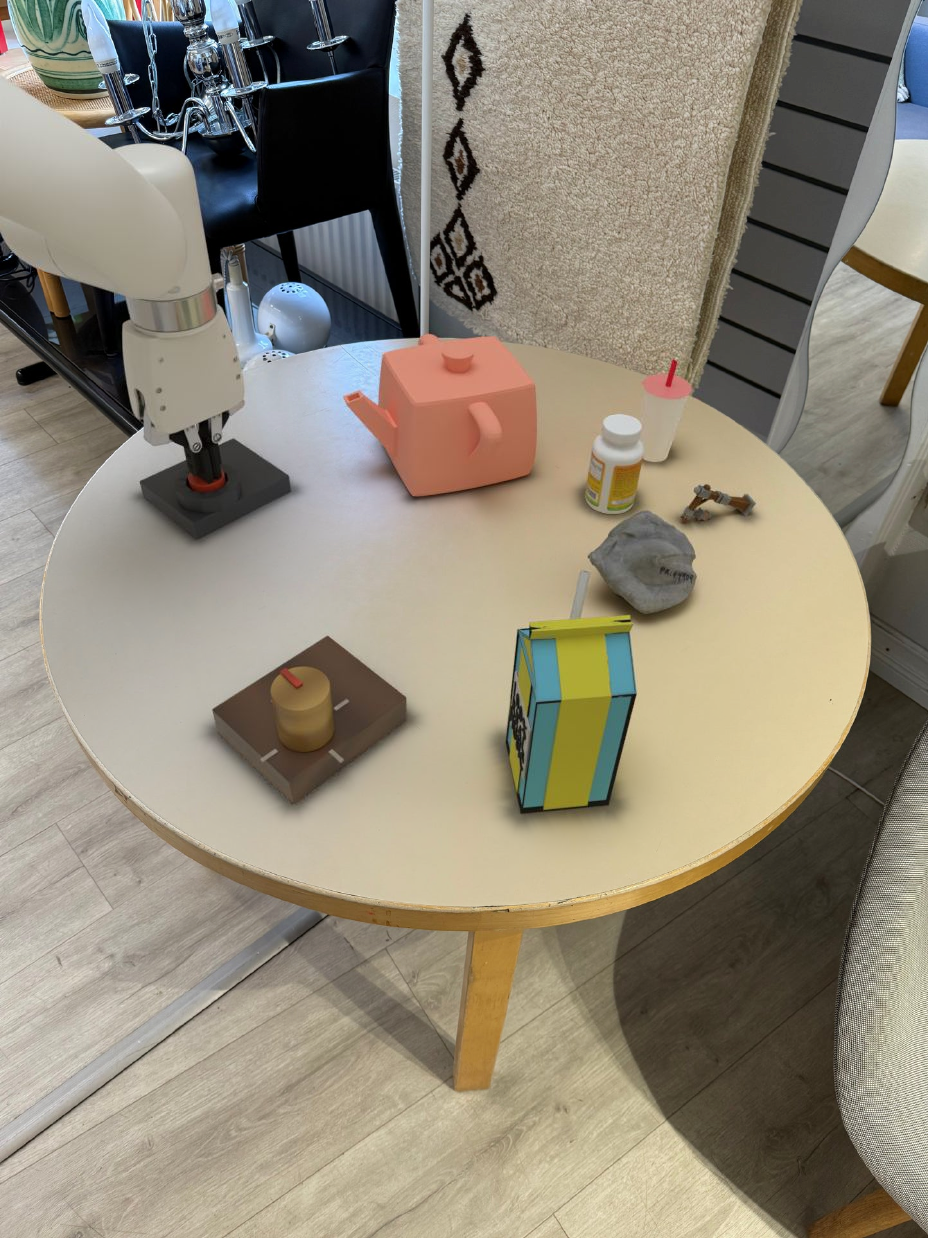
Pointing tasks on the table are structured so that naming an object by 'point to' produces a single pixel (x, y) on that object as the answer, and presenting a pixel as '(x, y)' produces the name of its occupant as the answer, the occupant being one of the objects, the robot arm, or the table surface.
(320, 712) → the knob
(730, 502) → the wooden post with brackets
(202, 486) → the button
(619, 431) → the supplement bottle
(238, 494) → the button block
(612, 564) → the fossil
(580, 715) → the carton
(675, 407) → the cup
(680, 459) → the table surface
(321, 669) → the panel
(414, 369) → the teapot
